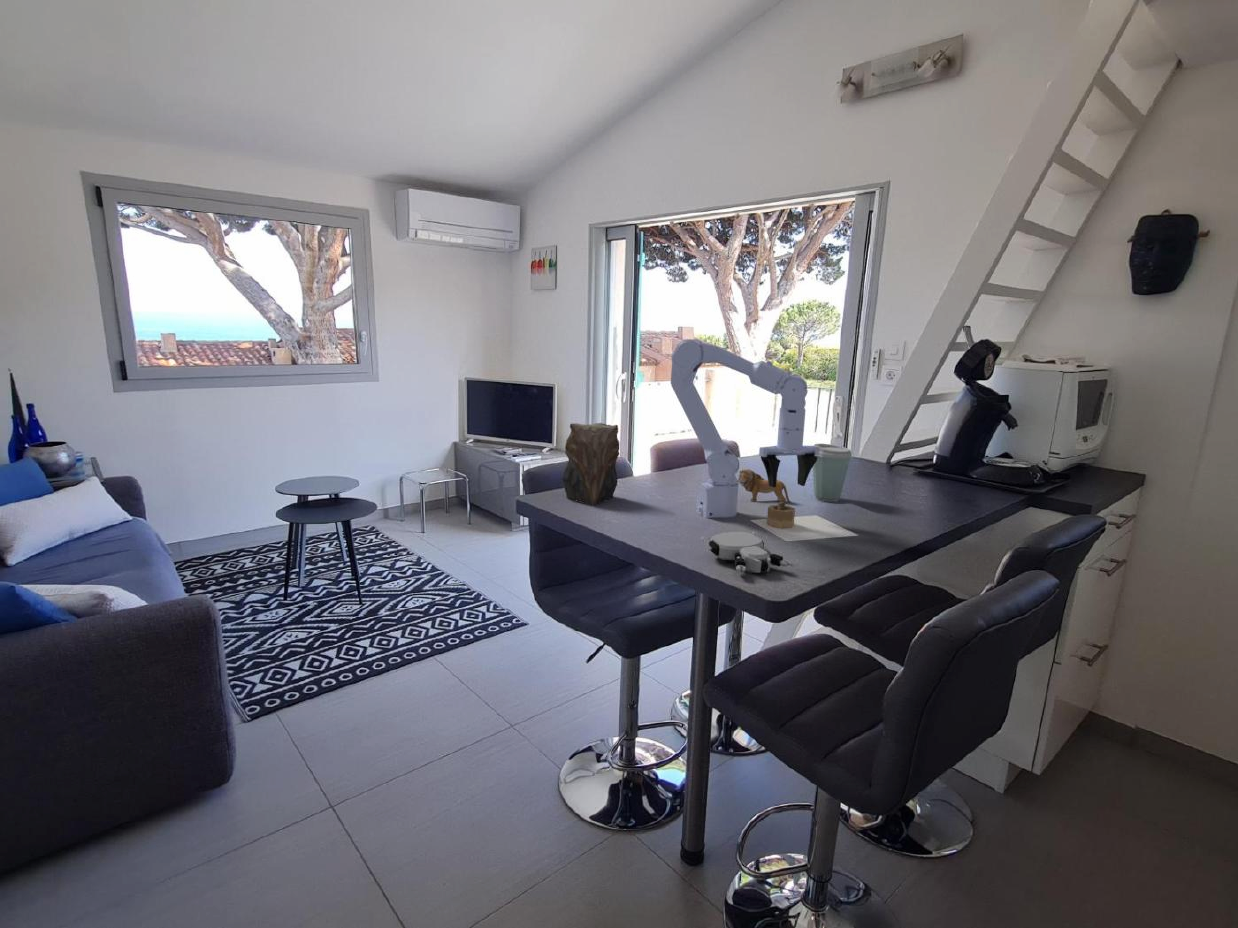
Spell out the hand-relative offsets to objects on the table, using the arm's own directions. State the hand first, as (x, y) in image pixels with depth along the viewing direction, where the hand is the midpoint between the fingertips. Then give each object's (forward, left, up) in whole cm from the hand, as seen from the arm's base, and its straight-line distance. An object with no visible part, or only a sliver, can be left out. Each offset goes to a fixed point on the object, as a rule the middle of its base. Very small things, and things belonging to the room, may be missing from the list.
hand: (786, 485), depth 149 cm
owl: (-39, +32, -10) cm, 52 cm away
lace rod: (-3, -4, -8) cm, 10 cm away
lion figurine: (+5, +18, -10) cm, 21 cm away
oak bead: (-3, -4, -8) cm, 10 cm away
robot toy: (-22, -22, -10) cm, 32 cm away
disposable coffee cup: (+25, +18, -10) cm, 32 cm away
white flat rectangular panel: (+1, -7, -9) cm, 12 cm away
